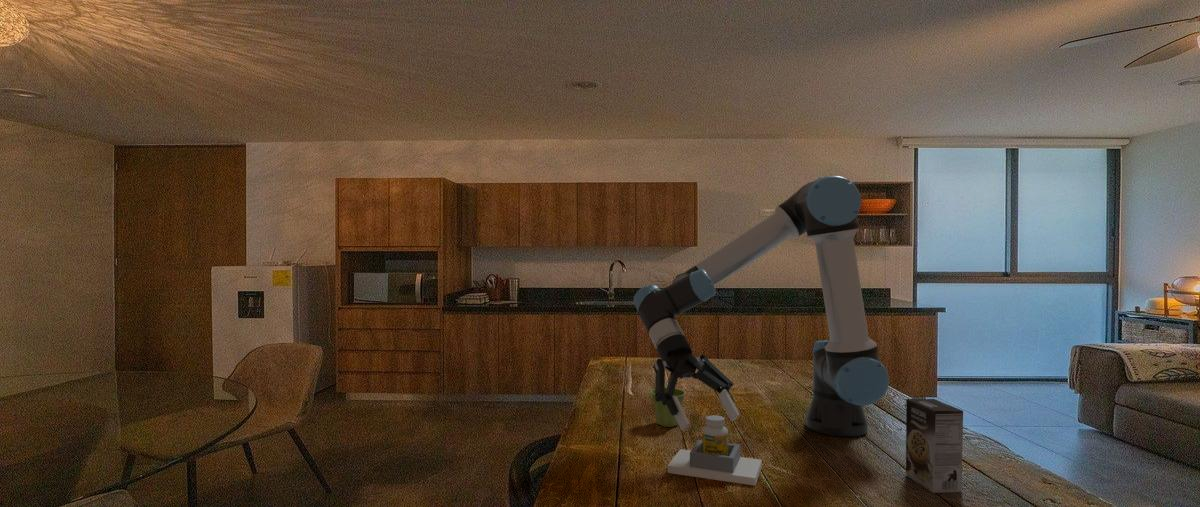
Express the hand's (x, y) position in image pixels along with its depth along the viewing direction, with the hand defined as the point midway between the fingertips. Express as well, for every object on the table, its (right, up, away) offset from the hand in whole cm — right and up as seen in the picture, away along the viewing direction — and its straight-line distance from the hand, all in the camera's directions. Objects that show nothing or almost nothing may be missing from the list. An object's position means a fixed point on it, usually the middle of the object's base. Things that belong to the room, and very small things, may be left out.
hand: (711, 422), depth 127 cm
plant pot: (-6, -10, +32) cm, 34 cm away
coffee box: (+43, -10, -8) cm, 45 cm away
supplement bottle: (+1, -9, 0) cm, 9 cm away
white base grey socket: (+1, -10, 0) cm, 10 cm away
